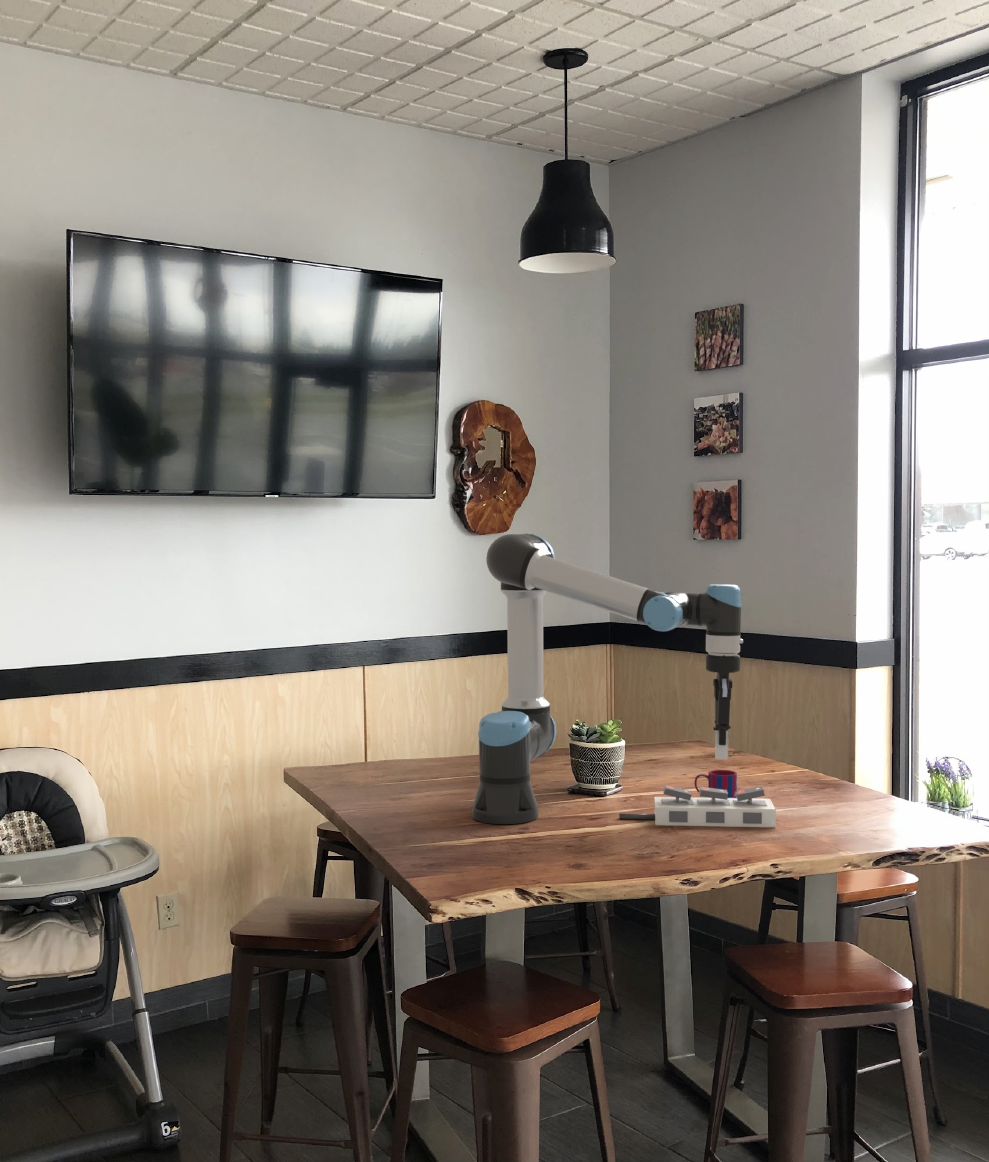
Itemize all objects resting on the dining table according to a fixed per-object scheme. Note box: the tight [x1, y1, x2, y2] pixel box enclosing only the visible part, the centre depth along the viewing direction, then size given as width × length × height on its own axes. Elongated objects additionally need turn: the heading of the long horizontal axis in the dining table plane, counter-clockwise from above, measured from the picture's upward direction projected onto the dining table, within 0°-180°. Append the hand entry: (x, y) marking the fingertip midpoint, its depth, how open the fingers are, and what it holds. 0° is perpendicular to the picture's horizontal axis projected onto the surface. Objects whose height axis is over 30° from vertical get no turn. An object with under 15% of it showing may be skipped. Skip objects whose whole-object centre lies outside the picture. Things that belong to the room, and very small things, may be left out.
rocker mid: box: [698, 786, 728, 800], centre depth 252 cm, size 6×4×2 cm, turn 83°
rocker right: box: [735, 786, 766, 801], centre depth 251 cm, size 6×4×2 cm, turn 83°
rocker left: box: [662, 784, 692, 800], centre depth 253 cm, size 6×4×1 cm, turn 83°
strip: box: [618, 796, 777, 828], centre depth 252 cm, size 34×10×5 cm, turn 83°
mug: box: [694, 769, 738, 798], centre depth 271 cm, size 7×10×7 cm
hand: (721, 758), depth 251 cm, fingers closed
